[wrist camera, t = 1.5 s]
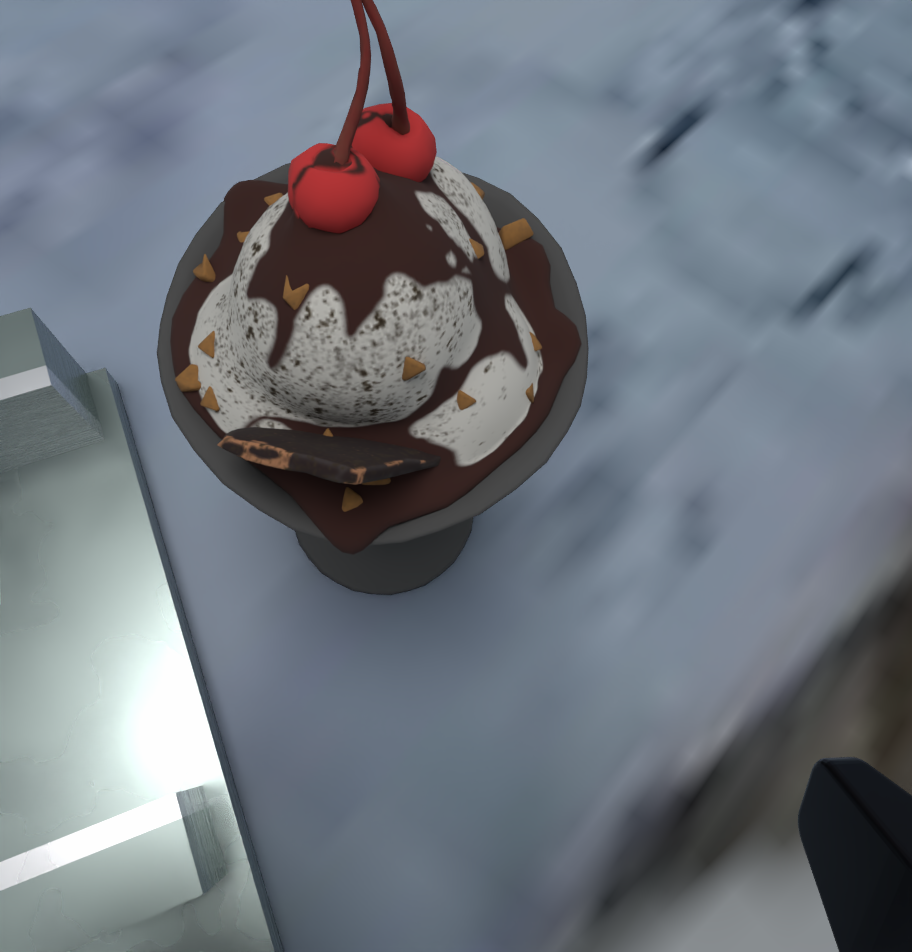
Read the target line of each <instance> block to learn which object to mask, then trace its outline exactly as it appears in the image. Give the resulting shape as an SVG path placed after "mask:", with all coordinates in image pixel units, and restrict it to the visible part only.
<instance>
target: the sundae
mask: <svg viewBox="0 0 912 952" xmlns="http://www.w3.org/2000/svg"><path fill="white" fill-rule="evenodd" d="M351 3H352V7H353V11H354V15H355V19H356V23H357V27H358V31H359V35H360V52H361V62H360V68H359V72H358V80H357V88H356V92H355V95H354V97H353V100H352V103H351V106H350V109H349V112H348V115H347V118H346V120H345V123H344V126H343V129H342V131H341V134H340V136H339V139H338V141H337V144H336V145H333V144H327V143H318V144H316V145H314V146H312V147H310V148H309V149H308V150H306V151H305V152H303V153H302V154H300V155H299V156H297V157H296V158H294V159H293V160H292V161H291V163H289V164H285V165H283V166H281V167H279V168H277V169H275V170H273V171H271V172H269V173H267V174H265V175H262V176H260V177H258V178H256V179H254V180H248V181H241V182H238V183H237V184H235V185H234V186H233V187H232V188H231V189H230V190H229V191H228V193H227V194H226V196H225V198H224V201H223V202H221V203H220V204H219V206H218V207H217V208H216V210H215V211H214V212H213V213H212V215H211V216H210V217H209V218H208V220H207V221H206V222H205V223H204V225H203V226H202V227H201V228H200V230H199V231H198V232H197V233H196V235H195V237H194V238H193V240H192V242H191V243H190V245H189V247H188V248H187V250H186V252H185V253H184V255H183V257H182V258H181V260H180V262H179V263H178V266H177V269H176V272H175V274H174V277H173V280H172V283H171V286H170V288H169V291H168V294H167V297H166V302H165V306H164V310H163V314H162V318H161V322H160V329H159V339H158V348H157V357H158V364H159V371H160V377H161V383H162V386H163V390H164V393H165V396H166V399H167V402H168V406H169V409H170V412H171V415H172V418H173V419H174V421H175V422H176V424H177V425H178V427H179V428H180V430H181V432H182V433H183V435H184V436H185V438H186V439H187V441H188V442H189V444H190V445H191V447H192V448H193V450H194V451H195V452H196V453H197V455H198V456H199V457H200V458H201V459H202V460H203V462H204V463H205V464H206V465H207V466H208V467H209V468H210V470H211V471H212V472H213V473H214V474H215V475H216V477H217V478H218V479H219V480H220V481H221V482H222V483H223V484H224V485H225V486H227V487H228V488H229V489H231V490H232V491H233V492H235V493H236V494H238V495H239V496H240V497H242V498H243V499H245V500H246V501H247V502H249V503H250V504H251V505H253V506H254V507H256V508H257V509H258V510H260V511H262V512H263V513H265V514H267V515H268V516H270V517H272V518H274V519H275V520H277V521H279V522H281V523H282V524H284V525H286V526H288V527H289V528H291V529H293V530H295V532H296V535H297V538H298V541H299V544H300V546H301V547H302V549H303V550H304V552H305V553H306V555H307V556H308V558H309V559H310V560H311V562H312V563H313V564H314V565H315V566H316V567H317V568H318V569H319V571H320V572H321V573H322V574H324V575H326V576H327V577H329V578H330V579H332V580H333V581H335V582H336V583H338V584H341V585H343V586H345V587H347V588H349V589H351V590H353V591H358V592H364V593H369V594H384V595H392V594H396V593H401V592H405V591H409V590H412V589H415V588H418V587H421V586H423V585H426V584H427V583H429V582H430V581H432V580H433V579H435V578H436V577H438V576H439V575H440V574H442V573H443V572H444V571H445V570H446V569H447V568H448V567H449V566H451V565H452V564H453V563H454V562H455V560H456V558H457V557H458V555H459V554H460V552H461V551H462V549H463V547H464V545H465V543H466V541H467V539H468V537H469V535H470V533H471V528H472V522H473V517H475V516H477V515H480V514H481V513H483V512H484V511H486V510H487V509H488V508H490V507H491V506H493V505H494V504H496V503H497V502H498V501H500V500H501V499H503V498H504V497H506V496H507V495H509V494H510V493H511V492H513V491H514V490H516V489H517V488H518V487H519V486H520V485H521V484H523V483H524V482H525V481H526V480H527V479H528V478H529V477H531V476H532V475H533V474H534V473H535V472H536V471H537V470H539V469H540V468H541V467H542V466H543V465H544V464H545V463H547V461H548V460H549V458H550V457H551V455H552V454H553V452H554V451H555V449H556V448H557V446H558V445H559V444H560V442H561V441H562V439H563V438H564V436H565V435H566V433H567V432H568V430H569V428H570V426H571V424H572V422H573V420H574V418H575V416H576V414H577V412H578V410H579V408H580V406H581V402H582V397H583V393H584V388H585V384H586V379H587V365H588V338H587V325H586V315H585V312H584V308H583V304H582V301H581V297H580V294H579V290H578V287H577V283H576V281H575V279H574V276H573V274H572V272H571V269H570V267H569V265H568V262H567V260H566V257H565V255H564V253H563V250H562V248H561V247H560V246H559V244H558V243H557V242H556V241H555V239H554V238H553V237H552V235H551V234H550V233H549V232H548V230H547V229H546V228H545V227H544V225H543V224H542V223H541V222H540V220H539V219H538V218H537V217H536V216H535V215H534V214H533V213H531V212H530V211H529V210H528V209H527V208H526V207H525V206H524V205H523V204H521V203H520V202H519V201H518V200H517V199H516V198H515V197H514V196H513V195H511V194H510V193H508V192H506V191H504V190H502V189H500V188H498V187H496V186H494V185H492V184H490V183H487V182H485V181H483V180H481V179H479V178H477V177H474V176H471V175H468V174H465V173H462V172H460V171H459V170H457V169H456V168H455V167H453V166H452V165H451V164H449V163H448V162H446V161H444V160H442V159H441V158H439V157H436V142H435V137H434V135H433V134H432V132H431V131H430V129H429V128H428V126H427V124H426V123H425V122H424V120H423V119H422V118H421V117H420V116H419V115H418V114H416V113H415V112H413V111H412V110H410V109H409V108H407V107H406V100H405V92H404V88H403V83H402V79H401V76H400V72H399V69H398V65H397V61H396V58H395V54H394V51H393V48H392V45H391V42H390V39H389V36H388V33H387V30H386V28H385V25H384V23H383V21H382V18H381V16H380V14H379V12H378V9H377V7H376V5H375V4H374V2H373V0H351ZM362 3H363V5H362ZM363 6H364V8H365V10H366V12H367V14H368V17H369V19H370V21H371V23H372V25H373V27H374V29H375V31H376V34H377V38H378V42H379V46H380V50H381V55H382V59H383V64H384V68H385V72H386V76H387V80H388V85H389V91H390V96H391V99H392V103H388V104H379V105H375V106H371V107H367V108H364V109H363V107H364V102H365V98H366V94H367V90H368V85H369V76H370V66H371V50H370V39H369V33H368V28H367V22H366V17H365V13H364V9H363Z"/></svg>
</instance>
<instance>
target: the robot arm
mask: <svg viewBox="0 0 912 952" xmlns="http://www.w3.org/2000/svg"><path fill="white" fill-rule="evenodd" d="M798 827H799V833H800V837H801V840H802V843H803V846H804V849H805V852H806V855H807V858H808V861H809V864H810V867H811V870H812V873H813V876H814V879H815V882H816V885H817V887H818V890H819V893H820V896H821V899H822V902H823V905H824V908H825V911H826V914H827V917H828V920H829V923H830V926H831V929H832V932H833V935H834V938H835V941H836V943H837V946H838V949H839V952H912V796H911V795H910V794H909V793H907V792H906V791H905V790H903V789H902V788H901V787H899V786H898V785H896V784H895V783H894V782H892V781H891V780H890V779H888V778H887V777H885V776H884V775H883V774H881V773H880V772H879V771H877V770H876V769H875V768H873V767H872V766H870V765H869V764H868V763H866V762H865V761H863V760H861V759H858V758H854V757H841V758H823V759H820V760H819V761H818V762H816V763H815V764H814V766H813V769H812V772H811V775H810V778H809V781H808V784H807V787H806V791H805V794H804V797H803V800H802V803H801V806H800V809H799V814H798Z"/></svg>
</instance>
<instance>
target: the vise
mask: <svg viewBox="0 0 912 952" xmlns="http://www.w3.org/2000/svg"><path fill="white" fill-rule="evenodd" d="M0 952H284V951H283V948H282V944H281V941H280V937H279V934H278V931H277V927H276V924H275V920H274V917H273V913H272V910H271V907H270V903H269V900H268V896H267V893H266V890H265V886H264V883H263V879H262V876H261V873H260V869H259V866H258V862H257V859H256V855H255V852H254V849H253V845H252V842H251V838H250V835H249V832H248V828H247V825H246V821H245V818H244V815H243V811H242V808H241V804H240V801H239V797H238V794H237V791H236V787H235V784H234V780H233V777H232V774H231V770H230V767H229V763H228V760H227V756H226V753H225V750H224V746H223V743H222V739H221V736H220V733H219V729H218V726H217V722H216V719H215V716H214V712H213V709H212V705H211V702H210V698H209V695H208V692H207V688H206V685H205V681H204V678H203V675H202V671H201V668H200V664H199V661H198V657H197V654H196V651H195V647H194V644H193V640H192V637H191V634H190V630H189V627H188V623H187V620H186V617H185V613H184V610H183V606H182V603H181V599H180V596H179V593H178V589H177V586H176V582H175V579H174V576H173V572H172V569H171V565H170V562H169V559H168V555H167V552H166V548H165V545H164V541H163V538H162V535H161V531H160V528H159V524H158V521H157V518H156V514H155V511H154V507H153V504H152V500H151V497H150V494H149V490H148V487H147V483H146V480H145V477H144V473H143V470H142V466H141V463H140V460H139V456H138V453H137V449H136V446H135V442H134V439H133V436H132V432H131V429H130V425H129V422H128V419H127V415H126V412H125V408H124V405H123V401H122V398H121V395H120V391H119V388H118V384H117V382H116V381H115V380H114V379H113V377H112V376H111V375H110V374H109V372H108V371H107V370H106V368H103V369H100V370H96V371H93V372H90V373H85V372H84V370H83V369H82V368H81V367H80V366H79V364H78V363H77V362H76V361H75V360H74V359H73V357H72V356H71V355H70V354H69V353H68V351H67V350H66V349H65V348H64V347H63V346H62V344H61V343H60V342H59V341H58V340H57V339H56V337H55V336H54V335H53V334H52V333H51V331H50V330H49V329H48V328H47V327H46V326H45V324H44V323H43V322H42V321H41V320H40V318H39V317H38V316H37V315H36V314H35V313H34V311H33V310H32V309H31V308H28V309H24V310H21V311H17V312H14V313H10V314H6V315H3V316H0Z"/></svg>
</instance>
